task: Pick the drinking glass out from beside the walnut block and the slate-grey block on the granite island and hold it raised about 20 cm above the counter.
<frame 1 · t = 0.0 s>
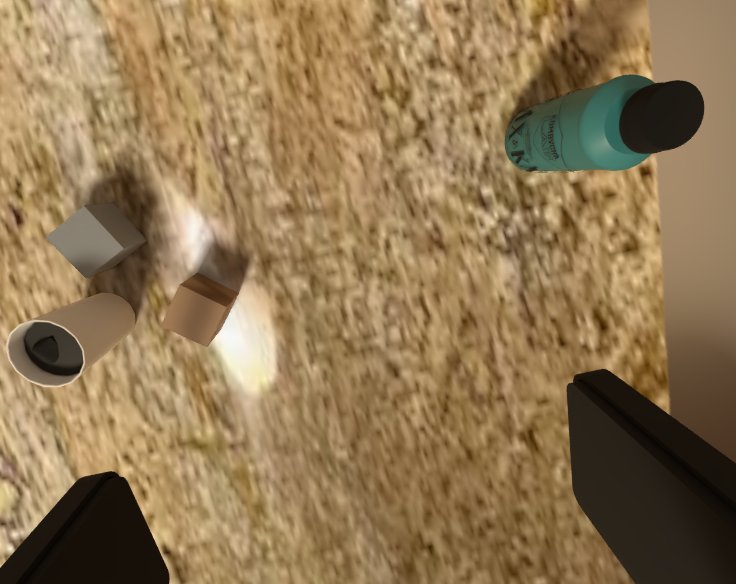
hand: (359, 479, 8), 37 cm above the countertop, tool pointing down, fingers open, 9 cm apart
slate-grey block: (113, 235, 43), on the countertop
walnut block: (209, 301, 45), on the countertop
drinking glass: (110, 316, 45), on the countertop
beverage bottle: (525, 142, 43), on the countertop
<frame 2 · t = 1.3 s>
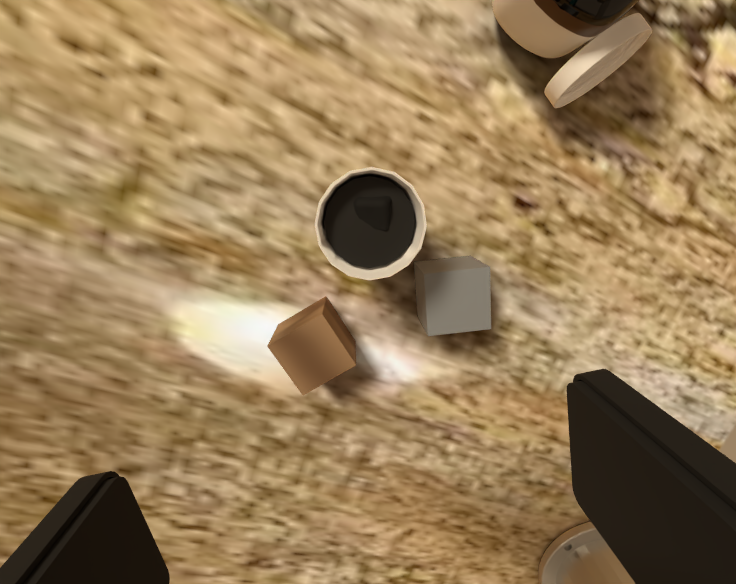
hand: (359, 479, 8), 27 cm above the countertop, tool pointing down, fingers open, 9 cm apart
slate-grey block: (443, 286, 35), on the countertop
walnut block: (317, 332, 36), on the countertop
drinking glass: (364, 213, 33), on the countertop
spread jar: (555, 19, 30), on the countertop
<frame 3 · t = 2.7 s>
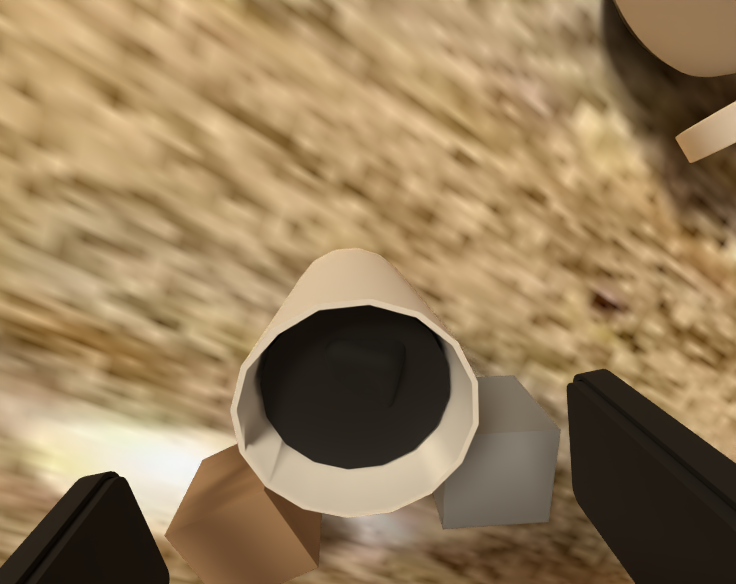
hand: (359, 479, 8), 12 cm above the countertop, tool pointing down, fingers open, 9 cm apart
slate-grey block: (466, 416, 23), on the countertop
walnut block: (264, 473, 23), on the countertop
drinking glass: (351, 302, 20), on the countertop
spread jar: (701, 10, 18), on the countertop
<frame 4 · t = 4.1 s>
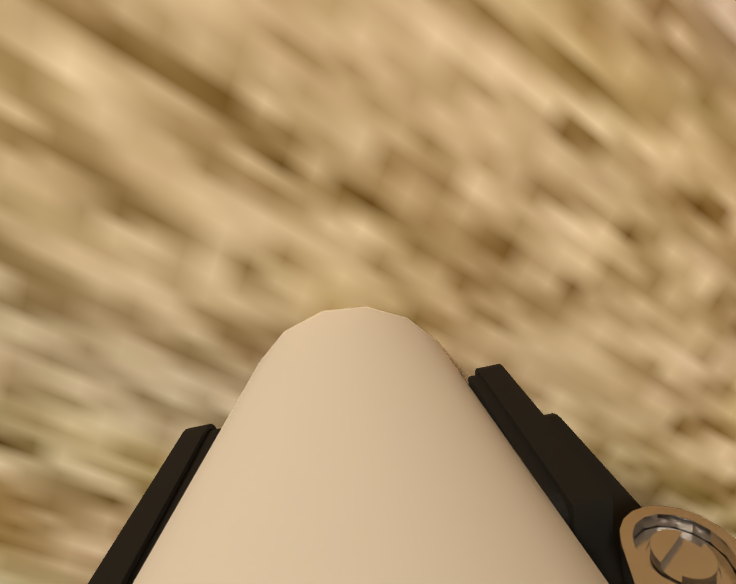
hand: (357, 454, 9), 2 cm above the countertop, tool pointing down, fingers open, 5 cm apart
drinking glass: (355, 400, 11), on the countertop
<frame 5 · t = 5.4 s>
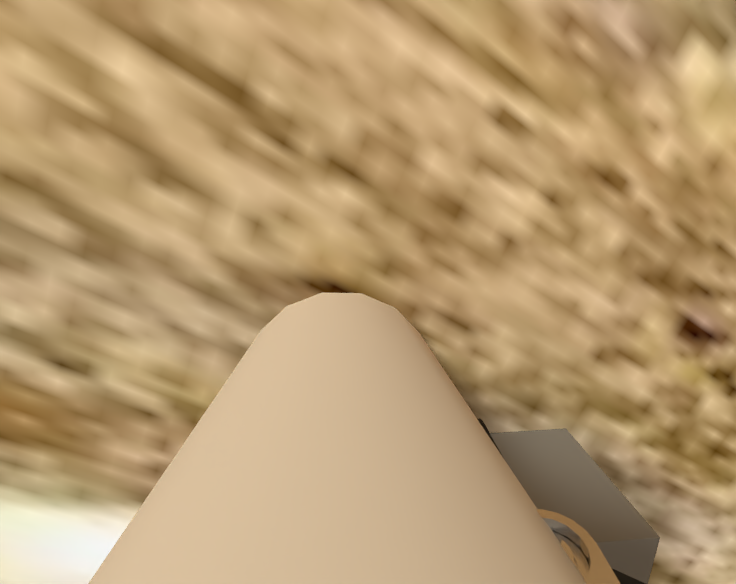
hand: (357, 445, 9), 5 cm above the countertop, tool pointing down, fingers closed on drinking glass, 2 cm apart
slate-grey block: (499, 481, 17), on the countertop
drinking glass: (339, 377, 13), point 2 cm above the countertop, touching gripper
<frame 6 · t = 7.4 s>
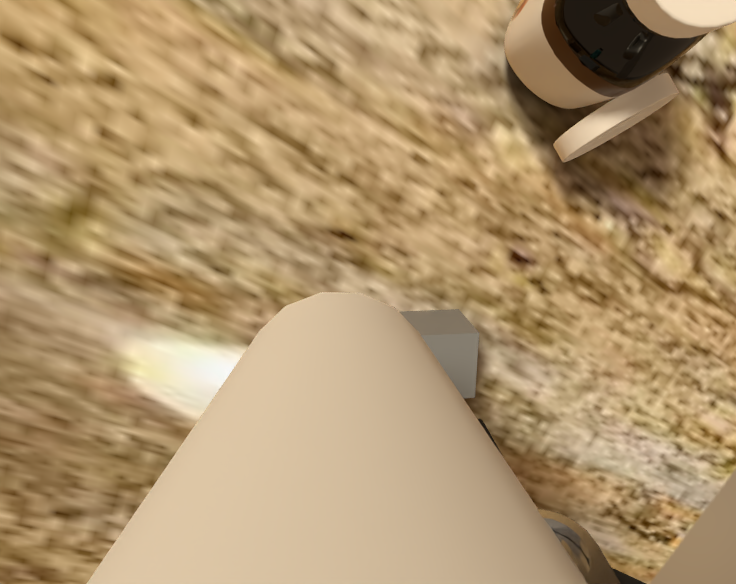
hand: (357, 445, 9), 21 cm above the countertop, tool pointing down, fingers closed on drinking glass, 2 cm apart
slate-grey block: (426, 339, 32), on the countertop
drinking glass: (339, 377, 13), point 18 cm above the countertop, touching gripper
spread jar: (571, 63, 27), on the countertop
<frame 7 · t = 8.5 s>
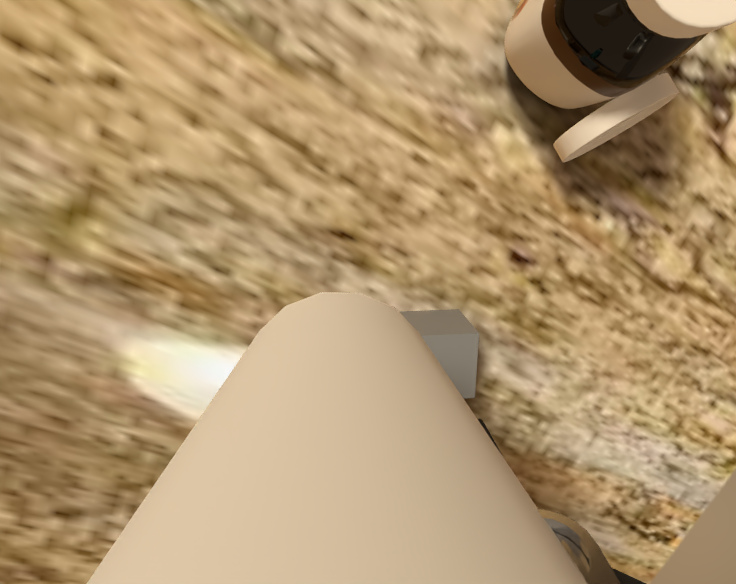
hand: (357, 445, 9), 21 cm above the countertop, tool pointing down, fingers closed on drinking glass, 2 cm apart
slate-grey block: (426, 339, 32), on the countertop
drinking glass: (339, 377, 13), point 18 cm above the countertop, touching gripper
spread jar: (571, 63, 27), on the countertop
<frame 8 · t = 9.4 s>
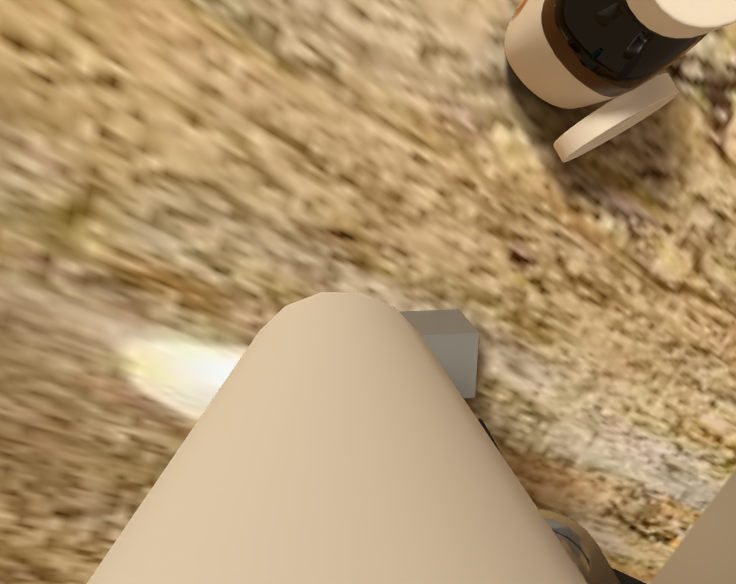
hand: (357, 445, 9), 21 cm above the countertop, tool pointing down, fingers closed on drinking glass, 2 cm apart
slate-grey block: (426, 339, 32), on the countertop
drinking glass: (339, 377, 13), point 18 cm above the countertop, touching gripper
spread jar: (571, 63, 27), on the countertop
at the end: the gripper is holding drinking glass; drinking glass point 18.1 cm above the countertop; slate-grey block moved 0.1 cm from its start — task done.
